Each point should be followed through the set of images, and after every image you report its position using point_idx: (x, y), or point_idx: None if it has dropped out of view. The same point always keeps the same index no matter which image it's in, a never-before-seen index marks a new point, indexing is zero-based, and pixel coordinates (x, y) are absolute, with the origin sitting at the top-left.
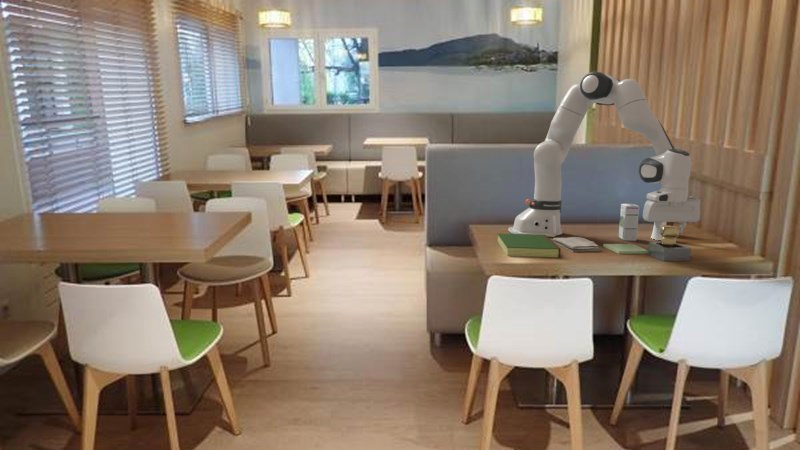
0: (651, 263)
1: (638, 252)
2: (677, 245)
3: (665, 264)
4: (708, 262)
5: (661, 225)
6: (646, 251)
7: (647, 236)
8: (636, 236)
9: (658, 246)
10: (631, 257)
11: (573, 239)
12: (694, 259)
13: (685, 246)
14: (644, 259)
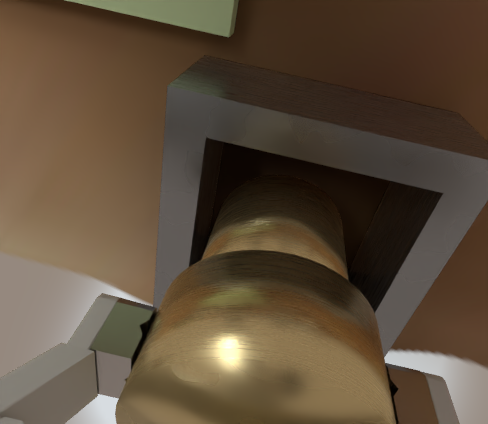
0: (72, 264)
1: (119, 10)
2: (402, 254)
3: (141, 299)
4: (443, 346)
5: None
6: (200, 30)
7: None
8: None
9: (159, 242)
10: (4, 115)
11: None
12: (438, 282)
13: (398, 324)
14: (76, 186)
